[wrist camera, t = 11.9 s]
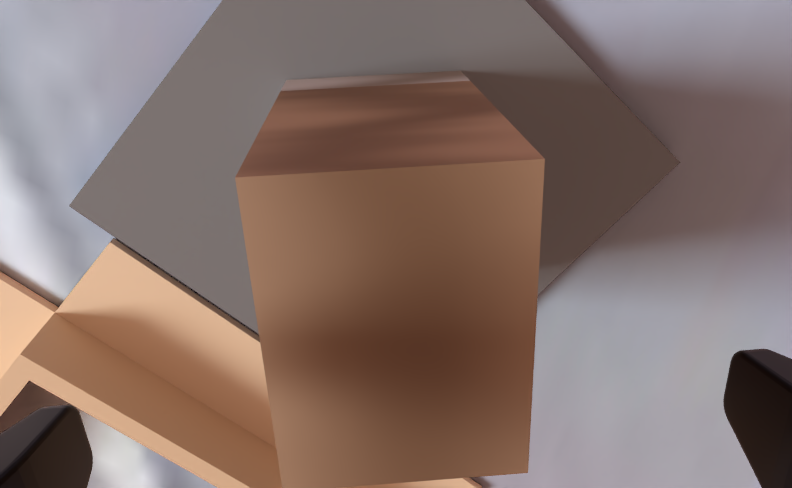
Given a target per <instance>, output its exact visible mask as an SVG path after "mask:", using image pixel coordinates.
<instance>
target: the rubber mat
mask: <svg viewBox="0 0 792 488" xmlns="http://www.w3.org/2000/svg"><path fill="white" fill-rule="evenodd" d="M443 71H461V72H462V73H463V74H464V75H465V76H466V77H467V78H468V79H469V80H470V81H471V82H472V83H473V84H474V85H475V86H476V87H477V88H478V89H479V91H480V92H481V93H482V94H483V95H484V96H485V97H486V98H487V99H488V100H489V101H490V102H491V103H492V104H493V105H494V106H495V107H496V108H497V109H498V110H499V111H500V112H501V114H502V115H503V116H504V117H505V118H506V119H507V120H508V121H509V122H510V123H511V124H512V125H513V126H514V127H515V128H516V129H517V130H518V131H519V132H520V133H521V134H522V135H523V137H524V138H525V139H526V140H527V141H528V142H529V143H530V144H531V145H532V146H533V147H534V148H535V149H536V150H537V151H538V152H539V153H540V154H541V155H542V156H543V157H544V159H545V167H544V185H543V203H542V222H541V240H540V259H539V277H538V294H539V293H540V292H541V291H543V290H544V289H545V288H546V287H547V286H548V285H549V284H550V283H551V282H552V281H553V280H554V279H555V278H556V277H558V276H559V275H560V274H561V273H562V272H563V271H564V270H565V269H566V268H567V267H568V266H569V265H570V264H572V263H573V262H574V261H575V260H576V259H577V258H578V257H579V256H580V255H581V254H582V253H583V252H584V251H585V250H587V249H588V248H589V247H590V246H591V245H592V244H593V243H594V242H595V241H596V240H597V239H598V238H599V237H601V236H602V235H603V234H604V233H605V232H606V231H607V230H608V229H609V228H610V227H611V226H612V225H613V224H614V223H616V222H617V221H618V220H619V219H620V218H621V217H622V216H623V215H624V214H625V213H626V212H627V211H628V210H630V209H631V208H632V207H633V206H634V205H635V204H636V203H637V202H638V201H639V200H640V199H641V198H642V197H643V196H645V195H646V194H647V193H648V192H649V191H650V190H651V189H652V188H653V187H654V186H655V185H656V184H657V183H659V182H660V181H661V180H662V179H663V178H664V177H665V176H666V175H667V174H668V173H669V172H670V171H671V170H672V169H674V168H675V167H676V166H677V165H678V164H679V163H680V162H679V161H678V160H677V159H676V158H675V157H674V155H673V154H672V153H671V152H670V151H669V150H668V149H667V148H666V147H665V146H664V145H663V144H662V143H661V142H660V141H659V140H658V139H657V138H656V137H655V136H654V135H653V134H652V132H651V131H650V130H649V129H648V128H647V127H646V126H645V125H644V124H643V123H642V122H641V121H640V120H639V119H638V118H637V117H636V116H635V115H634V114H633V113H632V112H631V110H630V109H629V108H628V107H627V106H626V105H625V104H624V103H623V102H622V101H621V100H620V99H619V98H618V97H617V96H616V95H615V94H614V93H613V92H612V91H611V90H610V89H609V87H608V86H607V85H606V84H605V83H604V82H603V81H602V80H601V79H600V78H599V77H598V76H597V75H596V74H595V73H594V72H593V71H592V70H591V69H590V68H589V67H588V66H587V64H586V63H585V62H584V61H583V60H582V59H581V58H580V57H579V56H578V55H577V54H576V53H575V52H574V51H573V50H572V49H571V48H570V47H569V46H568V45H567V44H566V42H565V41H564V40H563V39H562V38H561V37H560V36H559V35H558V34H557V33H556V32H555V31H554V30H553V29H552V28H551V27H550V26H549V25H548V24H547V23H546V22H545V21H544V19H543V18H542V17H541V16H540V15H539V14H538V13H537V12H536V11H535V10H534V9H533V8H532V7H531V6H530V5H529V4H528V3H527V2H526V1H525V0H223V1H222V2H221V3H220V5H219V6H218V7H217V9H216V10H215V11H214V13H213V14H212V15H211V17H210V18H209V19H208V21H207V22H206V23H205V25H204V26H203V27H202V29H201V30H200V31H199V33H198V34H197V35H196V37H195V38H194V39H193V41H192V42H191V43H190V45H189V46H188V47H187V49H186V50H185V51H184V53H183V54H182V55H181V57H180V58H179V59H178V61H177V62H176V64H175V65H174V66H173V68H172V69H171V70H170V72H169V73H168V74H167V76H166V77H165V78H164V80H163V81H162V82H161V84H160V85H159V86H158V88H157V89H156V90H155V92H154V93H153V94H152V96H151V97H150V98H149V100H148V101H147V102H146V104H145V105H144V106H143V108H142V109H141V110H140V112H139V113H138V114H137V116H136V117H135V118H134V120H133V121H132V122H131V124H130V125H129V126H128V128H127V129H126V130H125V132H124V133H123V134H122V136H121V137H120V138H119V140H118V141H117V142H116V144H115V145H114V146H113V148H112V149H111V150H110V152H109V153H108V155H107V156H106V157H105V159H104V160H103V161H102V163H101V164H100V165H99V167H98V168H97V169H96V171H95V172H94V173H93V175H92V176H91V177H90V179H89V180H88V181H87V183H86V184H85V185H84V187H83V188H82V189H81V191H80V192H79V193H78V195H77V196H76V197H75V199H74V200H73V201H72V203H71V204H70V205H69V206H70V207H71V208H73V209H74V210H76V211H77V212H78V213H80V214H81V215H83V216H84V217H86V218H87V219H89V220H90V221H92V222H93V223H95V224H96V225H98V226H99V227H101V228H102V229H104V230H105V231H107V232H108V233H110V234H111V235H113V236H114V237H116V238H117V239H118V240H120V241H121V242H123V243H124V244H126V245H127V246H129V247H130V248H132V249H133V250H135V251H136V252H138V253H139V254H141V255H142V256H144V257H145V258H147V259H148V260H150V261H151V262H153V263H154V264H156V265H157V266H158V267H160V268H161V269H163V270H164V271H166V272H167V273H169V274H170V275H172V276H173V277H175V278H176V279H178V280H179V281H181V282H182V283H184V284H185V285H187V286H188V287H190V288H191V289H193V290H194V291H196V292H197V293H199V294H200V295H201V296H203V297H204V298H206V299H207V300H209V301H210V302H212V303H213V304H215V305H216V306H218V307H219V308H221V309H222V310H224V311H225V312H227V313H228V314H230V315H231V316H233V317H234V318H236V319H237V320H239V321H240V322H241V323H243V324H244V325H246V326H247V327H249V328H250V329H252V330H253V331H255V332H256V333H258V334H259V332H258V325H257V318H256V312H255V305H254V299H253V292H252V286H251V279H250V272H249V266H248V259H247V253H246V246H245V240H244V233H243V226H242V220H241V213H240V207H239V200H238V194H237V187H236V181H235V177H236V175H237V173H238V171H239V169H240V167H241V165H242V163H243V161H244V160H245V158H246V156H247V154H248V152H249V150H250V148H251V146H252V144H253V142H254V141H255V139H256V137H257V135H258V133H259V131H260V129H261V127H262V125H263V123H264V122H265V120H266V118H267V116H268V114H269V112H270V110H271V108H272V106H273V104H274V103H275V101H276V99H277V97H278V95H279V93H280V91H281V89H282V87H283V85H284V84H285V82H286V80H295V79H313V78H332V77H350V76H369V75H387V74H406V73H424V72H443Z"/></svg>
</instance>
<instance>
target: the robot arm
mask: <svg viewBox="0 0 792 488" xmlns="http://www.w3.org/2000/svg"><path fill="white" fill-rule="evenodd" d="M724 410H725V414H726V416H727V419H728V421H729V423H730V425H731V427H732V429H733V431H734V433H735V435H736V437H737V439H738V441H739V443H740V445H741V447H742V449H743V451H744V453H745V455H746V457H747V459H748V461H749V463H750V465H751V467H752V469H753V471H754V473H755V475H756V477H757V479H758V481H759V483H760V485H761V487H762V488H792V359H790V358H788V357H785V356H783V355H781V354H778V353H776V352H773V351H771V350H768V349H754V350H742V351H738V352H737V353H735V354H734V355H733V357H732V359H731V363H730V368H729V373H728V378H727V383H726V389H725V394H724ZM92 464H93V457H92V451H91V447H90V444H89V441H88V438H87V435H86V432H85V429H84V425H83V422H82V419H81V416H80V414H79V411H78V410H77V409H76V407H74V406H72V405H60V406H47V407H42V408H40V409H38V410H36V411H35V412H33V413H32V414H30V415H29V416H27V417H26V418H24V419H23V420H21V421H19V422H18V423H16V424H15V425H13V426H12V427H10V428H9V429H7V430H6V431H4V432H3V433H1V434H0V488H87V485H88V482H89V478H90V474H91V470H92Z"/></svg>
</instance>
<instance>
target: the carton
mask: <svg viewBox="0 0 792 488" xmlns="http://www.w3.org/2000/svg"><path fill="white" fill-rule="evenodd" d="M28 381H31V382H33V383H34V384H36V385H38V386H40V387H42V388H43V389H45V390H47V391H49V392H50V393H52V394H54V395H56V396H57V397H59V398H61V399H63V400H64V401H66V402H68V403H70V404H71V405H73V406H75V407H77V408H79V409H80V410H82V411H84V412H86V413H87V414H89V415H91V416H93V417H94V418H96V419H98V420H100V421H101V422H103V423H105V424H107V425H108V426H110V427H112V428H114V429H115V430H117V431H119V432H121V433H123V434H124V435H126V436H128V437H130V438H131V439H133V440H135V441H137V442H138V443H140V444H142V445H144V446H145V447H147V448H149V449H151V450H152V451H154V452H156V453H158V454H160V455H161V456H163V457H165V458H167V459H168V460H170V461H172V462H174V463H175V464H177V465H179V466H181V467H182V468H184V469H186V470H188V471H189V472H191V473H193V474H195V475H197V476H198V477H200V478H202V479H204V480H205V481H207V482H209V483H211V484H212V485H214V486H216V487H218V488H282V483H281V476H280V469H279V463H278V456H277V450H276V443H275V437H274V430H273V423H272V417H271V410H270V404H269V397H268V391H267V384H266V377H265V371H264V364H263V358H262V351H261V345H260V338H259V336H258V335H257V334H255V333H254V332H252V331H251V330H249V329H248V328H246V327H245V326H243V325H242V324H240V323H239V322H237V321H236V320H234V319H233V318H231V317H230V316H229V315H227V314H226V313H224V312H223V311H221V310H220V309H218V308H217V307H215V306H214V305H212V304H211V303H209V302H208V301H206V300H205V299H203V298H202V297H200V296H199V295H197V294H196V293H194V292H193V291H191V290H190V289H188V288H187V287H185V286H184V285H183V284H181V283H180V282H178V281H177V280H175V279H174V278H172V277H171V276H169V275H168V274H166V273H165V272H163V271H162V270H160V269H159V268H157V267H156V266H154V265H153V264H151V263H150V262H148V261H147V260H145V259H144V258H142V257H141V256H139V255H138V254H137V253H135V252H134V251H132V250H131V249H129V248H128V247H126V246H125V245H123V244H122V243H120V242H119V241H117V240H116V239H114V238H113V239H112V241H111V242H110V243H109V244H108V246H107V247H106V248H105V249H104V251H103V252H102V253H101V254H100V256H99V257H98V258H97V259H96V261H95V262H94V263H93V265H92V266H91V267H90V268H89V270H88V271H87V272H86V273H85V275H84V276H83V277H82V279H81V280H80V281H79V282H78V284H77V285H76V286H75V287H74V289H73V290H72V291H71V292H70V294H69V295H68V296H67V298H66V299H65V300H64V301H63V303H62V304H61V305H60V306H59V307H57V306H56V305H54V304H52V303H51V302H49V301H47V300H46V299H44V298H43V297H41V296H39V295H38V294H36V293H34V292H33V291H31V290H30V289H28V288H26V287H25V286H23V285H21V284H20V283H18V282H17V281H15V280H13V279H12V278H10V277H9V276H7V275H5V274H4V273H2V272H0V416H1V415H2V414H3V412H4V411H5V410H6V409H7V407H8V406H9V405H10V404H11V402H12V401H13V400H14V399H15V397H16V396H17V395H18V394H19V392H20V391H21V390H22V389H23V387H24V386H25V385H26V384H27V382H28ZM343 488H482V486H481V485H479V484H478V483H476V482H475V481H473V480H472V479H470V478H469V477H468V478H456V479H443V480H431V481H418V482H406V483H393V484H381V485H368V486H356V487H343Z"/></svg>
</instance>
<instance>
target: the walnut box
mask: <svg viewBox="0 0 792 488" xmlns="http://www.w3.org/2000/svg"><path fill="white" fill-rule="evenodd" d="M544 167H545V159H544V157H543V156H542V155H541V154H540V153H539V152H538V151H537V150H536V149H535V148H534V147H533V146H532V145H531V144H530V143H529V142H528V141H527V140H526V139H525V138H524V137H523V135H522V134H521V133H520V132H519V131H518V130H517V129H516V128H515V127H514V126H513V125H512V124H511V123H510V122H509V121H508V120H507V119H506V118H505V117H504V116H503V115H502V114H501V112H500V111H499V110H498V109H497V108H496V107H495V106H494V105H493V104H492V103H491V102H490V101H489V100H488V99H487V98H486V97H485V96H484V95H483V94H482V93H481V92H480V91H479V89H478V88H477V87H476V86H475V85H474V84H473V83H472V82H471V81H470V80H469V79H468V78H467V77H466V76H465V75H464V74H463V73H462V72H461V71H443V72H424V73H406V74H387V75H369V76H350V77H332V78H313V79H295V80H286V82H285V84H284V85H283V87H282V89H281V91H280V93H279V95H278V97H277V99H276V101H275V103H274V104H273V106H272V108H271V110H270V112H269V114H268V116H267V118H266V120H265V122H264V123H263V125H262V127H261V129H260V131H259V133H258V135H257V137H256V139H255V141H254V142H253V144H252V146H251V148H250V150H249V152H248V154H247V156H246V158H245V160H244V161H243V163H242V165H241V167H240V169H239V171H238V173H237V175H236V177H235V181H236V187H237V194H238V200H239V207H240V213H241V220H242V226H243V233H244V240H245V246H246V253H247V259H248V266H249V272H250V279H251V286H252V292H253V299H254V305H255V312H256V318H257V325H258V332H259V338H260V345H261V351H262V358H263V364H264V371H265V377H266V384H267V391H268V397H269V404H270V410H271V417H272V423H273V430H274V437H275V443H276V450H277V456H278V463H279V469H280V476H281V483H282V488H343V487H356V486H368V485H381V484H393V483H406V482H418V481H431V480H443V479H456V478H468V477H481V476H493V475H506V474H518V473H528V461H529V442H530V424H531V405H532V387H533V369H534V350H535V332H536V314H537V295H538V277H539V259H540V240H541V222H542V203H543V185H544Z"/></svg>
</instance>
